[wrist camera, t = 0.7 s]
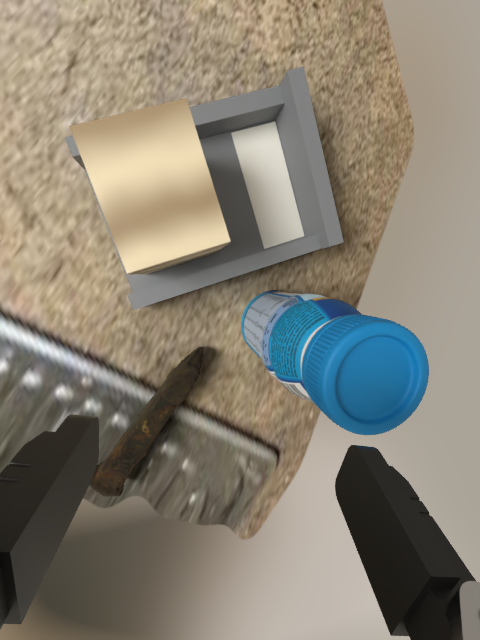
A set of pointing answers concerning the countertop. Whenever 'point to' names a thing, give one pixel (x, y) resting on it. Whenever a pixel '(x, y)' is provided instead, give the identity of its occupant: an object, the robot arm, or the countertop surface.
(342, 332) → the beverage bottle
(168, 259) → the wooden cube box
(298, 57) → the countertop surface
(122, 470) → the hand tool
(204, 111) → the bay
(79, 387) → the countertop surface
